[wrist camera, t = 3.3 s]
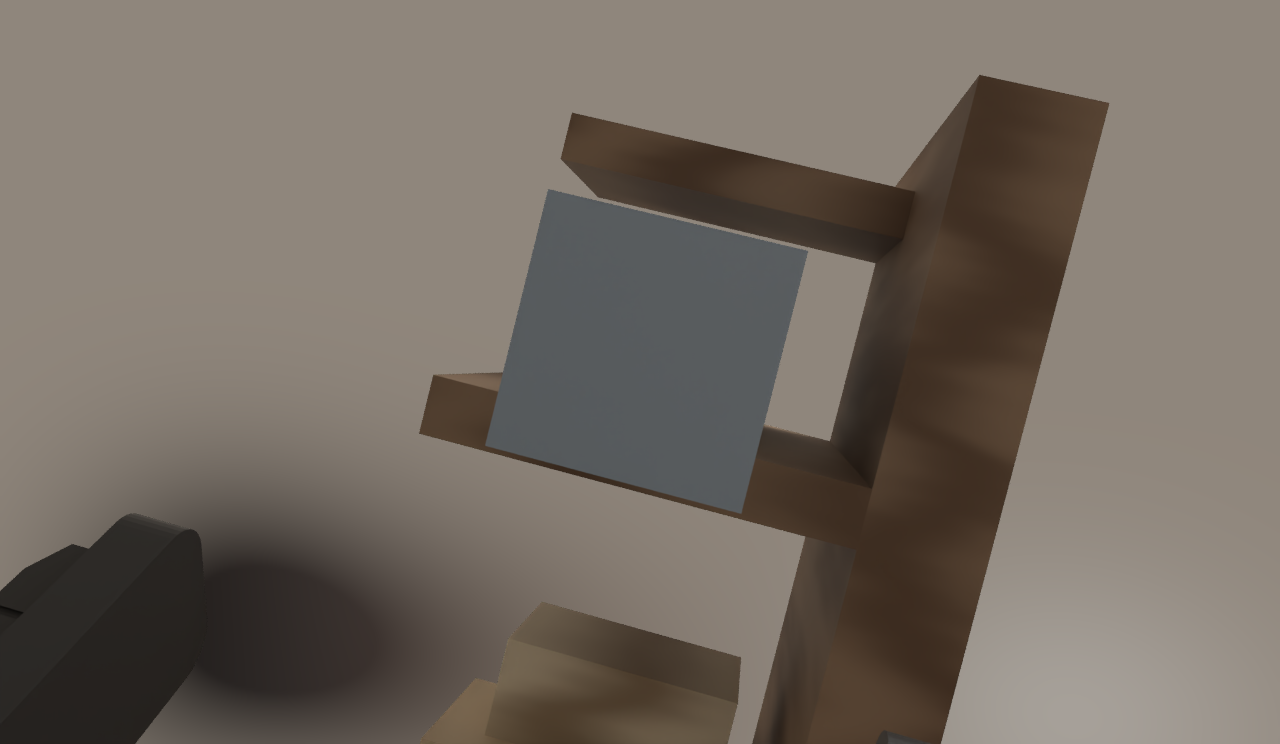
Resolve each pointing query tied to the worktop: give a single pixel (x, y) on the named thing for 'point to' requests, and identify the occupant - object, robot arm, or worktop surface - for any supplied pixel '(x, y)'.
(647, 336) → the blue-grey square bar
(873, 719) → the rack
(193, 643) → the robot arm
